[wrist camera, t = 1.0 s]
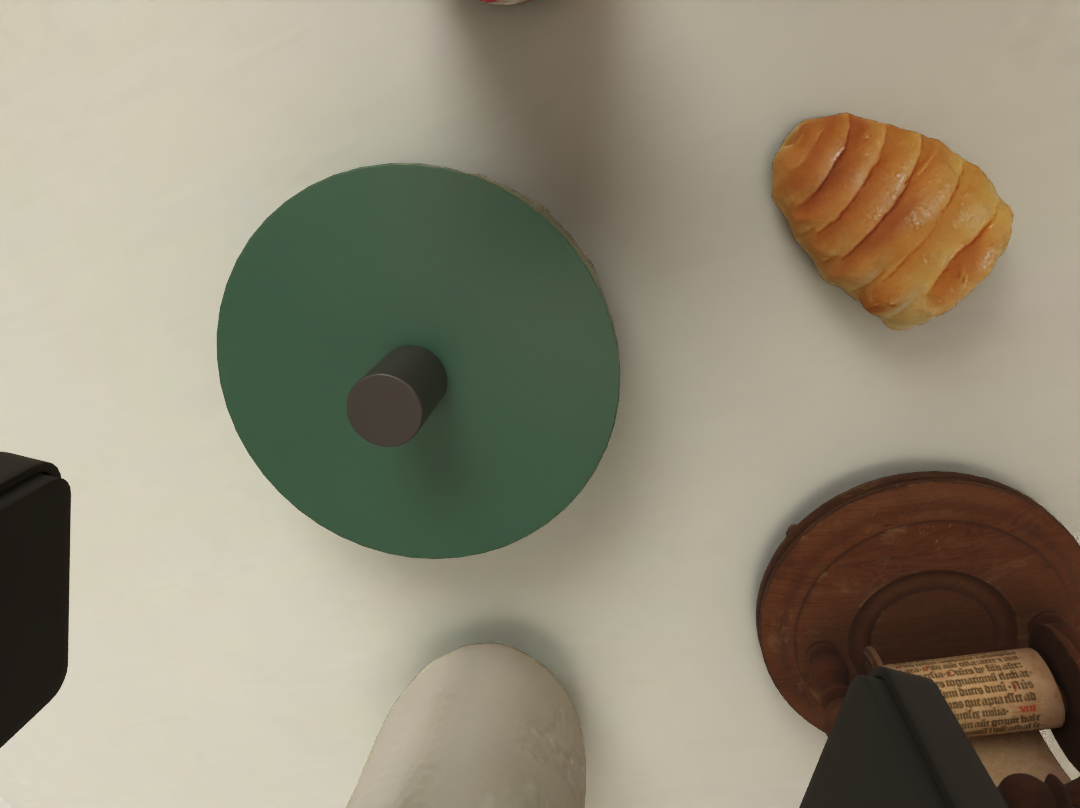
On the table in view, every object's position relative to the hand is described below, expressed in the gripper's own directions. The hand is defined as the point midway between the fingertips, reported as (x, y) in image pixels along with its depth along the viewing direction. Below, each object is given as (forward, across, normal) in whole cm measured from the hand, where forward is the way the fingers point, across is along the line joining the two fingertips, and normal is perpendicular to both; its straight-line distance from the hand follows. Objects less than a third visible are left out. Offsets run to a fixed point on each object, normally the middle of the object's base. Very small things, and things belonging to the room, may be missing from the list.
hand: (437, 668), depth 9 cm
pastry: (+28, -12, -6) cm, 30 cm away
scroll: (+28, -19, +11) cm, 36 cm away
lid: (+23, +6, +4) cm, 24 cm away
